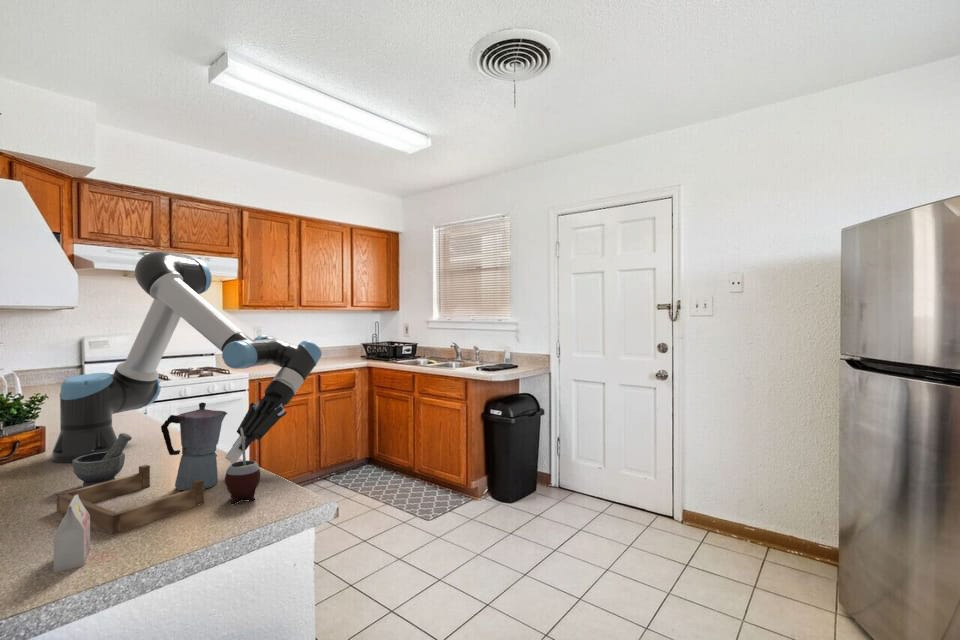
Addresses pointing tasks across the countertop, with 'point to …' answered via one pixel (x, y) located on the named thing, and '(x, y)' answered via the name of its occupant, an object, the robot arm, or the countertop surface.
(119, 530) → the bay
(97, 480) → the mortar and pestle
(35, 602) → the countertop surface
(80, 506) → the white paper packet
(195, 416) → the moka pot
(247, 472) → the mate gourd
